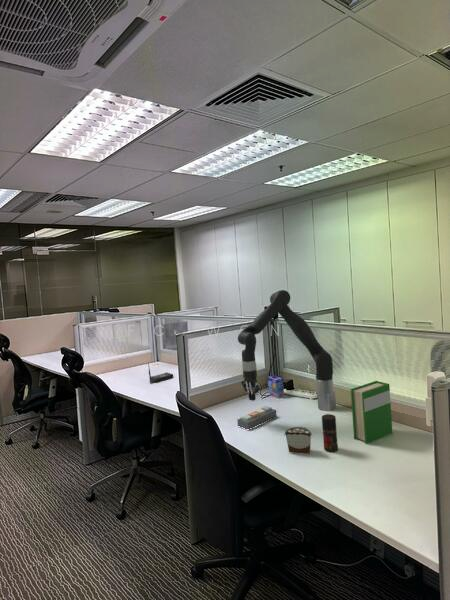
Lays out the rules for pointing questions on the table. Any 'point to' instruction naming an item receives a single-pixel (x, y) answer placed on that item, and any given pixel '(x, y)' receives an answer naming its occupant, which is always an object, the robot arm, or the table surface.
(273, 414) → the keyguard
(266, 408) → the key slate
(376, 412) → the hardback book
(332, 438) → the deodorant
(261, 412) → the key sand
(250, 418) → the key sage
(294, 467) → the table surface
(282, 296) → the robot arm
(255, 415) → the key terracotta
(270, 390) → the ink cartridge box
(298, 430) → the food container
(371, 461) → the table surface
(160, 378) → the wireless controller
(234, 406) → the table surface
